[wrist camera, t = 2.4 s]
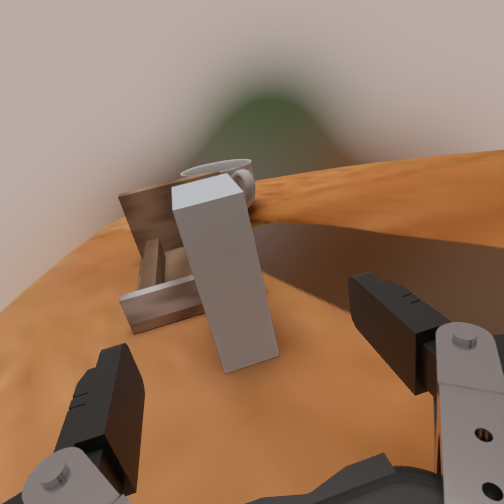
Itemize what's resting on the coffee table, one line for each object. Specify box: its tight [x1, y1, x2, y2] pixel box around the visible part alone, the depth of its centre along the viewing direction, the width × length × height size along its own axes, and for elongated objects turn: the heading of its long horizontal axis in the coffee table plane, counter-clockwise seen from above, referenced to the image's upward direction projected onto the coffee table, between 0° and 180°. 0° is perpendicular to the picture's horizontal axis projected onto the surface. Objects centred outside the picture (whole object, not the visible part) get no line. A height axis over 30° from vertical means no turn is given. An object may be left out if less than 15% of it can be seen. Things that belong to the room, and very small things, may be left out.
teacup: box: [180, 159, 255, 209], centre depth 51 cm, size 14×11×8 cm
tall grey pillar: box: [172, 173, 280, 373], centre depth 24 cm, size 4×6×12 cm, turn 13°
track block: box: [118, 169, 220, 334], centre depth 36 cm, size 12×16×9 cm
